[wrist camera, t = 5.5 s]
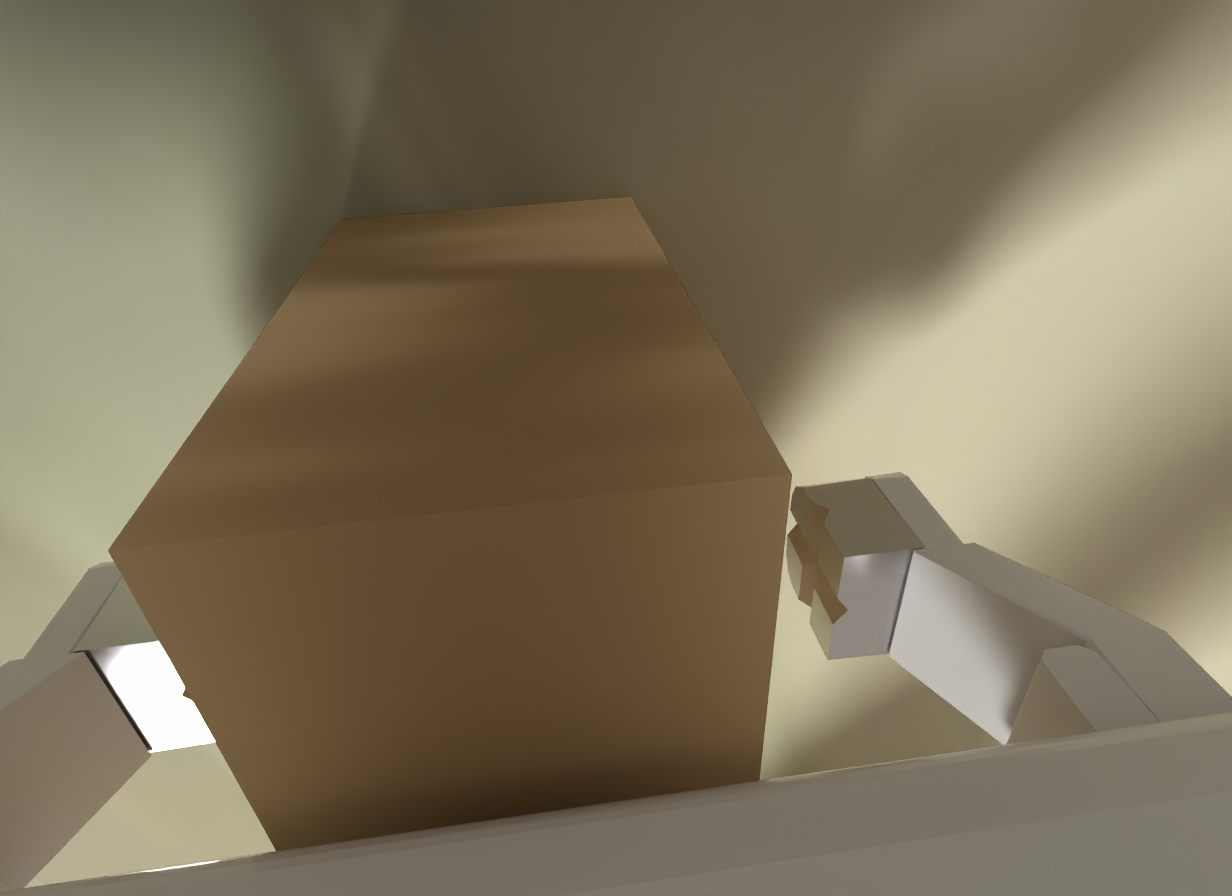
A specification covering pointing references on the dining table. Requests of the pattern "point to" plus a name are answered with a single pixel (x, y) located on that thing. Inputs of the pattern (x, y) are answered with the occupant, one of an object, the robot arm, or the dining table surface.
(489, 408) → the wooden block
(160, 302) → the dining table surface
